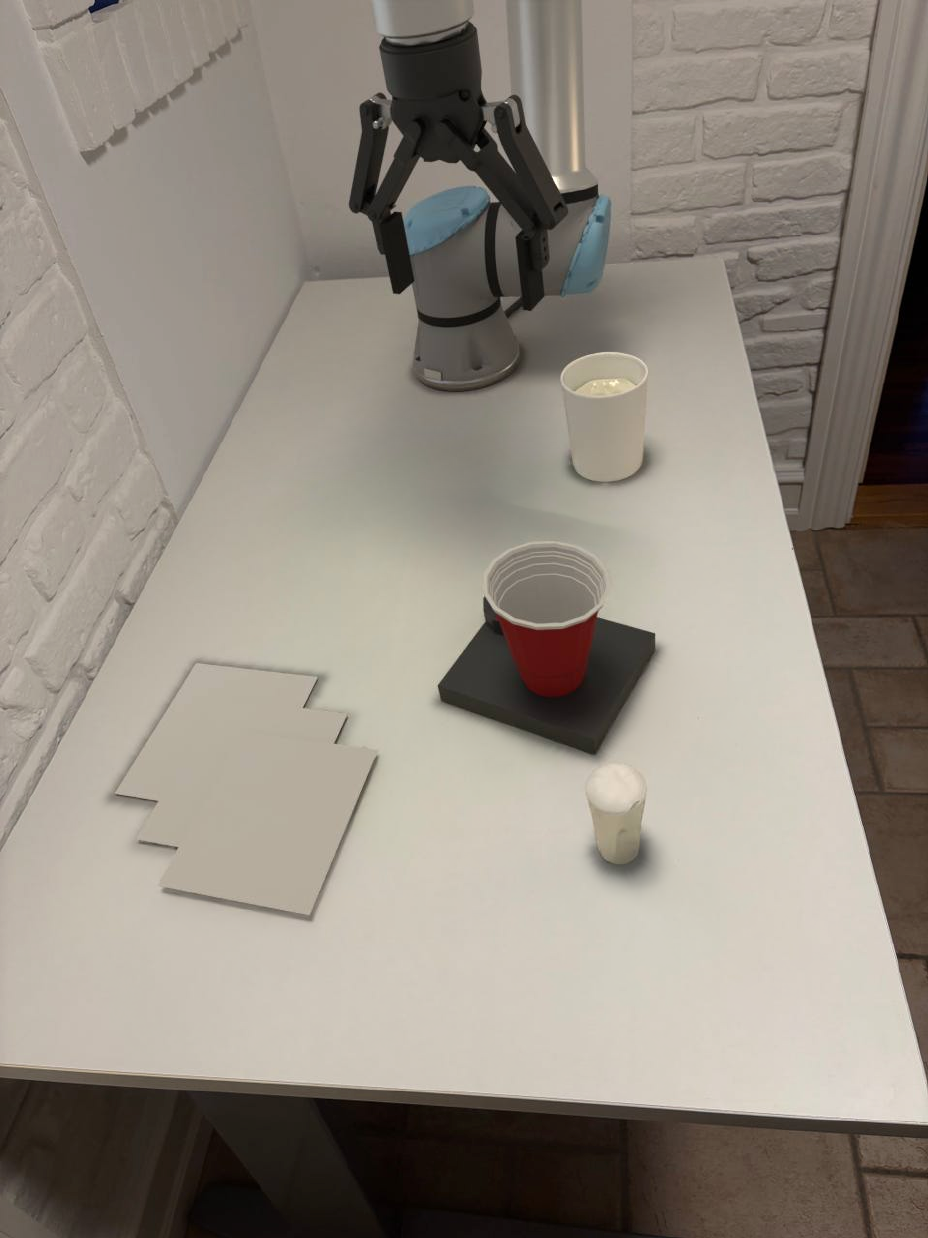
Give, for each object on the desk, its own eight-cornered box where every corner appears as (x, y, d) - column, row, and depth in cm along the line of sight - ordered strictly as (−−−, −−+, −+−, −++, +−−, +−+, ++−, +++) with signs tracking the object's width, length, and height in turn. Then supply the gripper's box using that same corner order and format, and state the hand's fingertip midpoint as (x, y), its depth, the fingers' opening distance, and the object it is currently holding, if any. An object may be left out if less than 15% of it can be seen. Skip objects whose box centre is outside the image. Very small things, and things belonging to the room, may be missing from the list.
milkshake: (613, 890, 74) (609, 815, 67) (580, 838, 78) (572, 762, 71) (664, 865, 75) (664, 789, 68) (629, 815, 79) (626, 738, 72)
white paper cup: (610, 496, 110) (606, 406, 102) (550, 466, 116) (542, 379, 108) (666, 457, 114) (666, 367, 106) (605, 430, 120) (601, 343, 112)
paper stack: (65, 872, 82) (62, 867, 82) (196, 663, 99) (194, 658, 99) (311, 919, 76) (309, 915, 75) (407, 687, 93) (405, 682, 92)
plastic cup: (609, 724, 83) (604, 626, 75) (488, 716, 86) (470, 620, 78) (620, 636, 91) (616, 538, 83) (508, 631, 93) (494, 535, 85)
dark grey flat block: (506, 600, 100) (502, 572, 97) (658, 644, 92) (658, 614, 90) (434, 698, 91) (427, 670, 89) (594, 755, 84) (592, 725, 81)
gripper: (600, 10, 68) (611, 289, 83) (322, 17, 79) (375, 263, 94) (555, 43, 64) (575, 332, 79) (267, 46, 75) (332, 299, 90)
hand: (466, 295), depth 86 cm, fingers open, 13 cm apart
